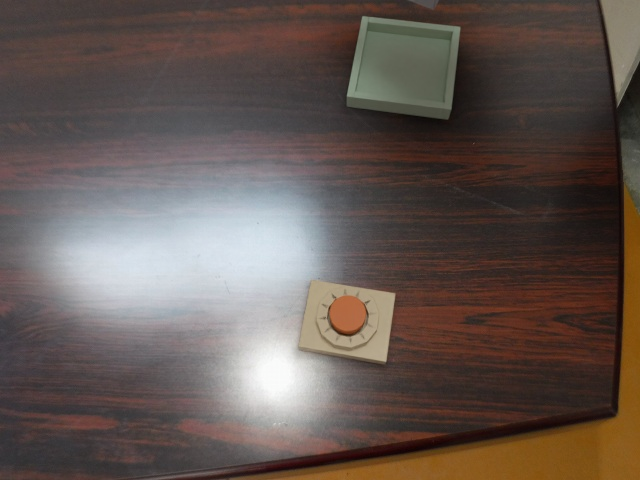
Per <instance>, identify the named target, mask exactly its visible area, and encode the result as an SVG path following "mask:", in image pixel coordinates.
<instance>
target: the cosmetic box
mask: <svg viewBox="0 0 640 480" xmlns="http://www.w3.org/2000/svg"><path fill="white" fill-rule="evenodd" d="M407 1H408V2H411V3H414V4H417V5H419V6H421V7H425V8H427V9H429V10H430V9H431V10H434V9H435V8H436V6H437V5H438V3H439V1H440V0H407Z"/></svg>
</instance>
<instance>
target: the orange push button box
mask: <svg viewBox="0 0 640 480" xmlns="http://www.w3.org/2000/svg"><path fill="white" fill-rule="evenodd" d="M346 295H350V296H354V297H356V298H358V299H359V300H361V301H362V303H363V304H364V306H365V309H366V319H365V323H364V325H363V327H362V328H361V329H360V330H359V331H358V332H356V333H353V334H343V333H340V332H338V331H337V330H336V329H335V328H334V327H333V326H332V324H331V321H330V307H331V305H332V303H333V302H334V301H335V300H336V299H337V298H339V297H341V296H346ZM395 301H396V292H390V291H384V290H378V289H372V288H365V287H359V286H353V285H347V284H340V283H335V282H334V283H333V282H328V281H322V280H317V279H311V280H310V282H309V289H308V294H307V299H306V304H305V308H304V309H305V310H304V315H303V320H302V323H301V324H302V325H301V331H300V335H299V341H298V345H297V346H298V349H299V350H300V351H305V352H309V353H310V352H311V353H315V354H321V355H322V354H323V355H327V356H333V357H339V358H344V359H349V360H355V361H361V362H367V363H372V364H379V365H385V366H386V363H387V360H388V354H389V353H388V352H389V346H390V339H391V338H390V337H391V329H392V325H393V324H392V323H393V317H394V310H395V309H394V308H395Z"/></svg>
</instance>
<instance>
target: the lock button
mask: <svg viewBox="0 0 640 480" xmlns="http://www.w3.org/2000/svg"><path fill="white" fill-rule="evenodd" d="M365 319H366V309H365V306H364V304H363V303H362V301H361V300H359V299H358V298H356V297H354V296H350V295H346V296H341V297H339V298H337V299H336V300H335V301H334V302H333V303H332V305H331V307H330V321H331V324H332V326H333V327H334V328H335V329H336V330H337V331H338V332H340V333H343V334H353V333H356V332H358V331H359V330H360V329H361V328H362V327H363V325H364V323H365Z"/></svg>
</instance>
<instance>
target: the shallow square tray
mask: <svg viewBox="0 0 640 480" xmlns="http://www.w3.org/2000/svg"><path fill="white" fill-rule="evenodd" d="M460 35H461V26H457V25H447V24H440V23H439V24H437V23H429V22H420V21H412V20H402V19H392V18H383V17H374V16H366V15H362V16H361V21H360V26H359V31H358V36H357V40H356V41H357V43H356V47H355V51H354V57H353V61H352V67H351V71H350V76H349V83H348V88H347V94H346V108H353V109H354V108H355V109H362V110H369V111H375V112H376V111H377V112H386V113H391V114H392V113H393V114H400V115H401V114H402V115H409V116H417V117H424V118H431V119H438V120H449V118H450V115H451V112H452V108H453V98H454V90H455V81H456V71H457V65H458V64H457V62H458V53H459V45H460V43H459V42H460Z"/></svg>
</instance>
